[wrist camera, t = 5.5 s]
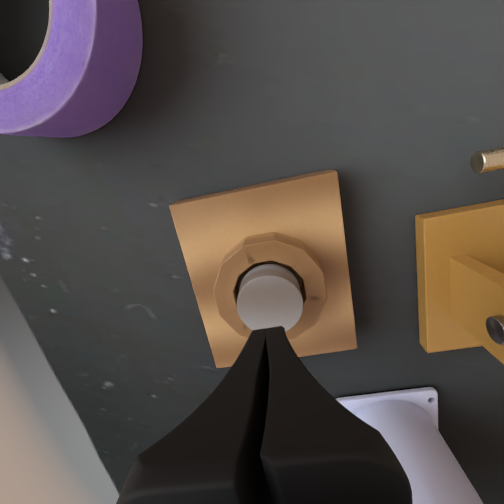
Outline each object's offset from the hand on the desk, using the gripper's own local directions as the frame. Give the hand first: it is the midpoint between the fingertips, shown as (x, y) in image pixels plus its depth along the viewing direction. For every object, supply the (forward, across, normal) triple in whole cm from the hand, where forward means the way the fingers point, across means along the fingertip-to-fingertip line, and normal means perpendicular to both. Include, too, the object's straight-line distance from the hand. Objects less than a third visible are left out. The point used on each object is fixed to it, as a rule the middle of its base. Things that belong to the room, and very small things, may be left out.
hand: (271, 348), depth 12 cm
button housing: (+9, 0, 0) cm, 9 cm away
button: (+5, 0, 0) cm, 5 cm away
